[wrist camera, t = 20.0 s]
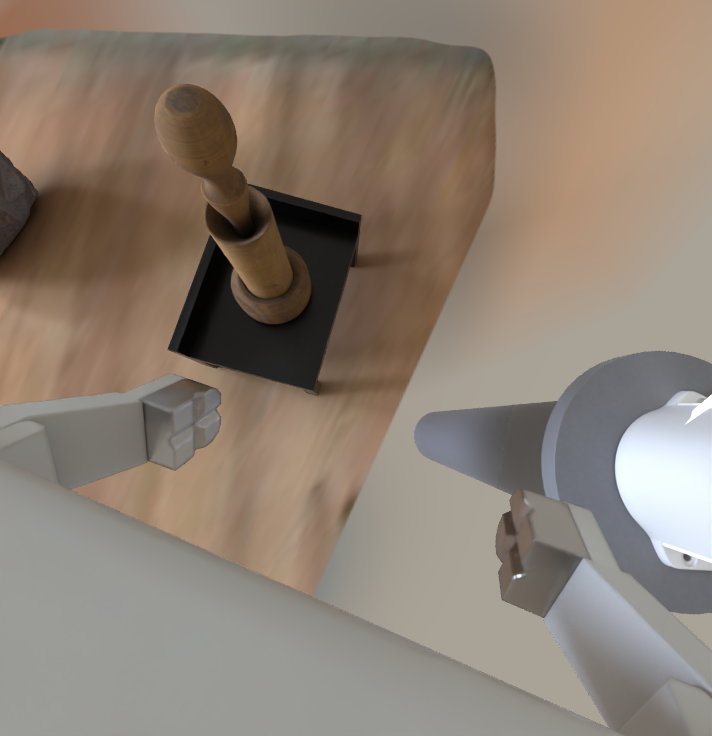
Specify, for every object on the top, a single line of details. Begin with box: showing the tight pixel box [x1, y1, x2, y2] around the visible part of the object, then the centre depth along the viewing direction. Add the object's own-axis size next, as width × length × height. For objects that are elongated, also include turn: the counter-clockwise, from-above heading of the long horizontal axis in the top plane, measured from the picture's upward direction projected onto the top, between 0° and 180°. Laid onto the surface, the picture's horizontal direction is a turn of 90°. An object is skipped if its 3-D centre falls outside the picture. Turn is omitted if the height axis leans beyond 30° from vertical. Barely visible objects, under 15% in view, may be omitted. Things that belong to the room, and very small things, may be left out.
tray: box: [168, 184, 361, 396], centre depth 32 cm, size 12×16×8 cm
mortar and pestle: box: [155, 84, 311, 324], centre depth 21 cm, size 7×6×18 cm
